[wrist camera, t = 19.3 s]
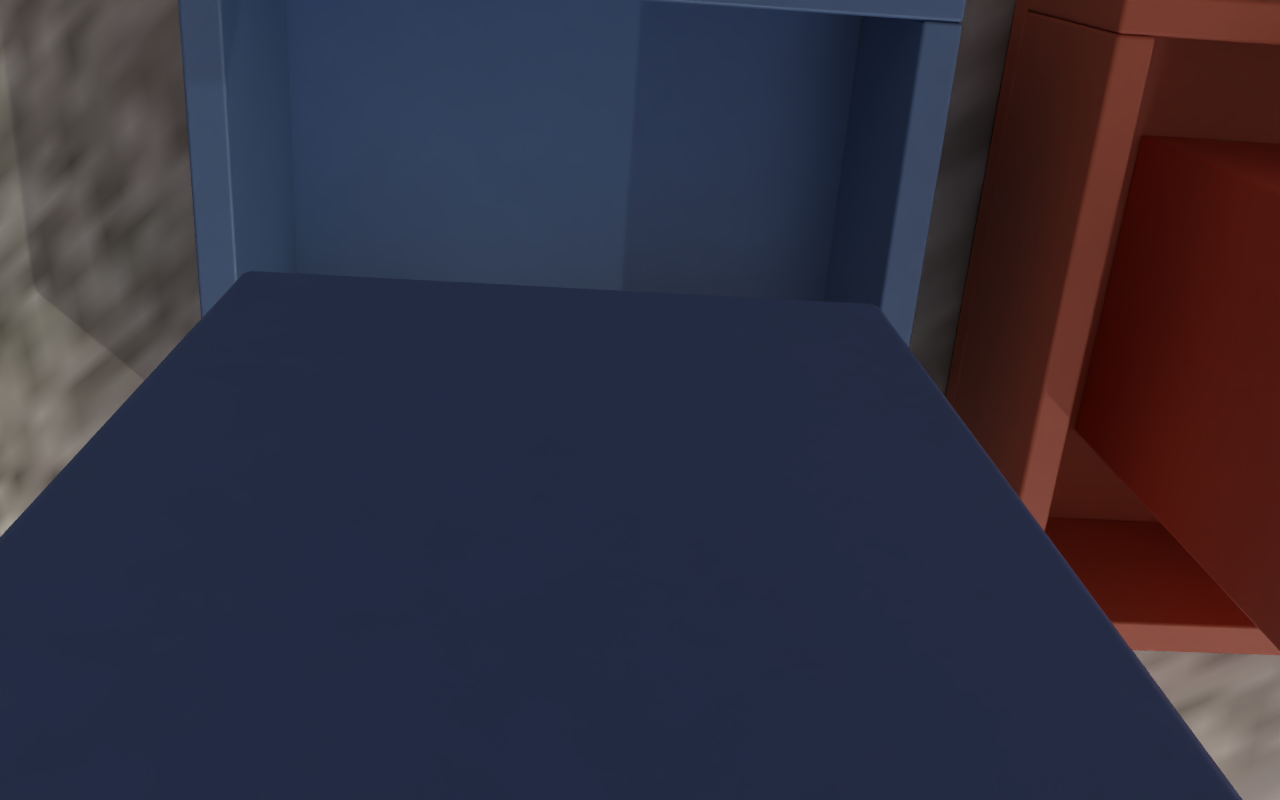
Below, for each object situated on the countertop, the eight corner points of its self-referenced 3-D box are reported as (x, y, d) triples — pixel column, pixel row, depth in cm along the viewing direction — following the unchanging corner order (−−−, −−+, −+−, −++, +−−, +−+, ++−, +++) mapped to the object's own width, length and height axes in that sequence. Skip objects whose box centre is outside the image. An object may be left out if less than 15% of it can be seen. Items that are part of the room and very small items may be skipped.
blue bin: (255, -83, 21) (170, -79, 16) (895, -37, 22) (971, -20, 17) (283, 496, 25) (222, 619, 21) (816, 518, 26) (861, 642, 22)
